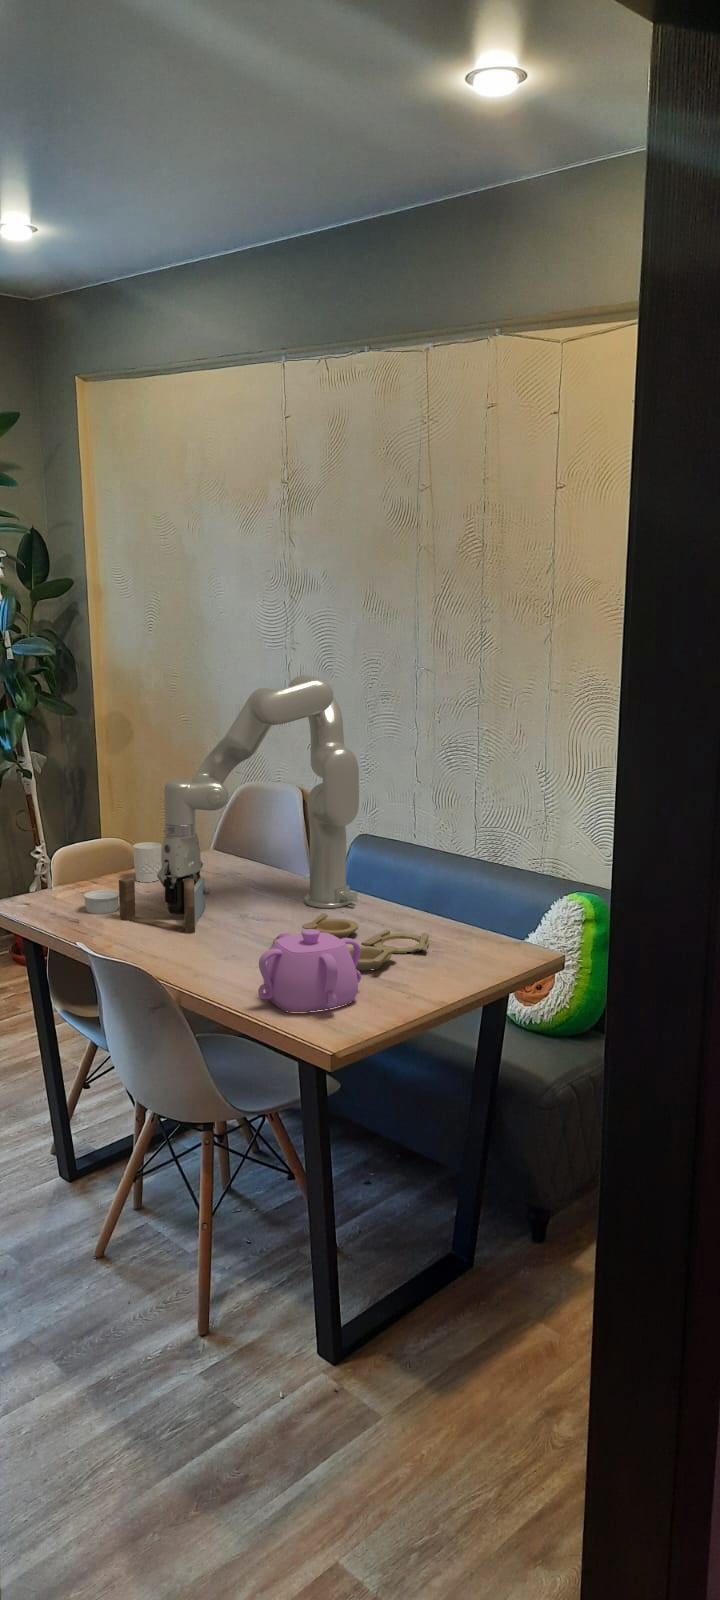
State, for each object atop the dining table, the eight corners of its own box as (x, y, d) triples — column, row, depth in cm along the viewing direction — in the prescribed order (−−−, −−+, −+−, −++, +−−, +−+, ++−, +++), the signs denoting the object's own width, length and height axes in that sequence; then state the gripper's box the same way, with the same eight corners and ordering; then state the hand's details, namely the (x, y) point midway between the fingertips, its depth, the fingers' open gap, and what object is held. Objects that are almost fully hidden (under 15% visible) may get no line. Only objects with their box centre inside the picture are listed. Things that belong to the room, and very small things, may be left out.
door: (199, 927, 269) (199, 895, 268) (188, 927, 269) (188, 895, 268) (210, 907, 286) (210, 877, 284) (200, 907, 286) (199, 877, 284)
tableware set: (443, 943, 262) (444, 927, 261) (395, 982, 236) (395, 964, 235) (310, 924, 276) (310, 908, 275) (250, 959, 250) (250, 941, 249)
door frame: (198, 931, 268) (197, 878, 266) (189, 934, 266) (188, 881, 264) (128, 916, 280) (126, 865, 278) (120, 919, 278) (118, 868, 275)
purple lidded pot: (333, 1023, 212) (334, 950, 210) (237, 1006, 220) (236, 936, 218) (371, 991, 230) (372, 923, 227) (281, 976, 238) (280, 911, 235)
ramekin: (88, 905, 290) (87, 889, 289) (122, 905, 290) (122, 889, 289) (80, 915, 281) (80, 898, 280) (116, 915, 281) (115, 898, 281)
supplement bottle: (185, 906, 285) (185, 860, 283) (199, 912, 280) (199, 865, 278) (161, 910, 281) (161, 864, 278) (175, 916, 275) (175, 869, 273)
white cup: (138, 875, 320) (137, 841, 318) (165, 876, 319) (164, 842, 317) (130, 882, 312) (129, 848, 310) (157, 883, 311) (156, 848, 309)
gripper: (168, 838, 267) (168, 910, 270) (214, 826, 282) (214, 894, 285) (144, 833, 271) (145, 905, 274) (191, 822, 285) (192, 890, 289)
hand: (180, 899), depth 279 cm, fingers closed on supplement bottle, 6 cm apart
